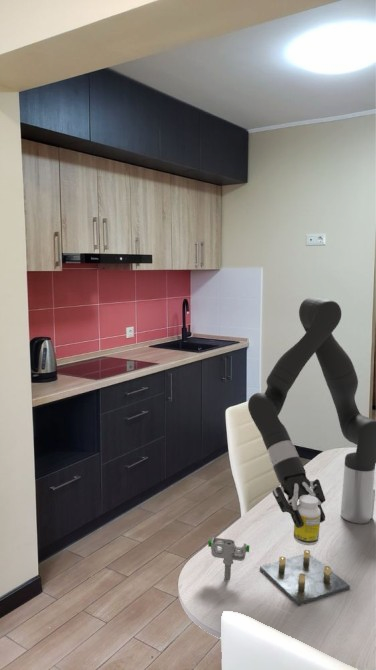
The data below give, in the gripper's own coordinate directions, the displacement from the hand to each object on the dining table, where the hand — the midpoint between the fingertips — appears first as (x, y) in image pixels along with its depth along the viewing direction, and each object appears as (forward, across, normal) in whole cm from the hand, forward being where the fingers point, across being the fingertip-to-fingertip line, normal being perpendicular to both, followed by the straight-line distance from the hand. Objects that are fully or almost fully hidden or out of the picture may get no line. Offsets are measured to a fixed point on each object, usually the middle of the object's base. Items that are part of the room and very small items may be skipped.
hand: (311, 523), depth 130 cm
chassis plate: (+10, 0, +12) cm, 16 cm away
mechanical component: (+5, -18, +18) cm, 26 cm away
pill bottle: (+3, 0, +5) cm, 6 cm away
